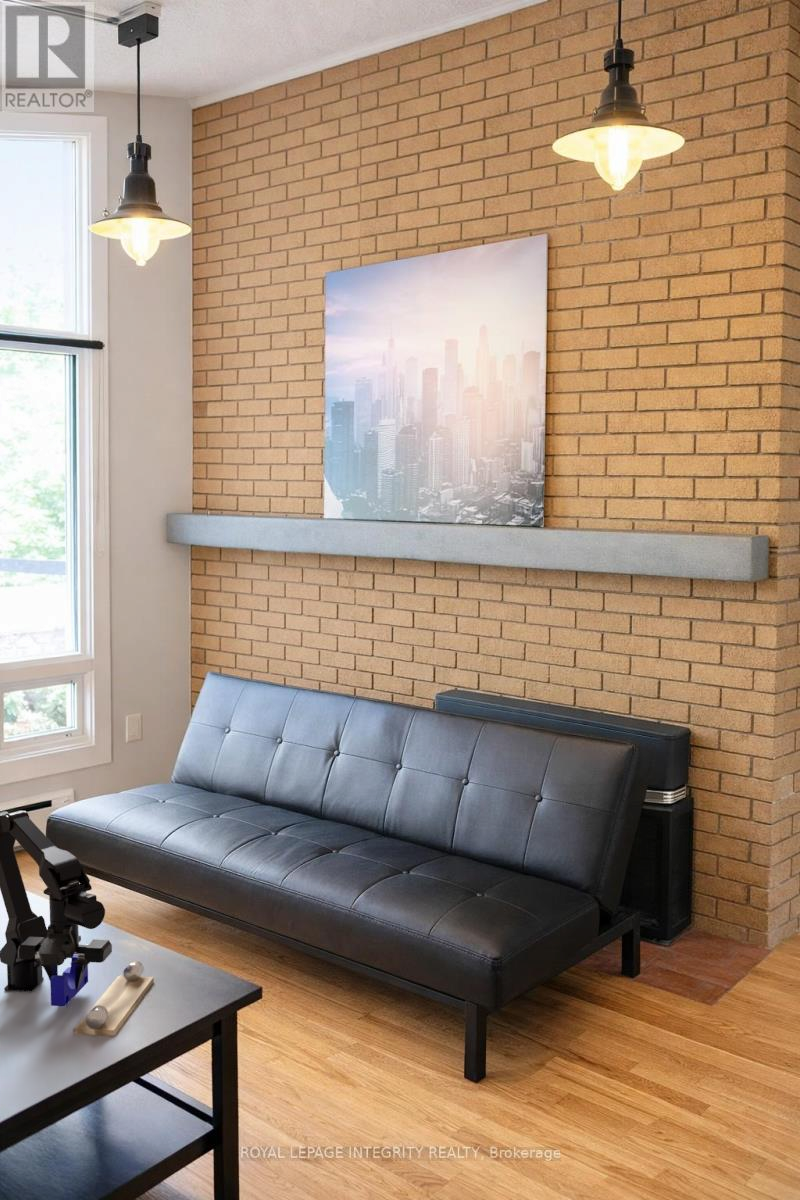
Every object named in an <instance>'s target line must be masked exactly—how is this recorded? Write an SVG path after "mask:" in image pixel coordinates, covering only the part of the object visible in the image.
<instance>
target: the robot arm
mask: <svg viewBox="0 0 800 1200" xmlns="http://www.w3.org/2000/svg"><path fill="white" fill-rule="evenodd" d="M29 815H30V814H29V812H28V811H26V810H22V809H21V810H20V809H19V810H16V811H12V812H8V811H7V810H2V811H0V893H1V897H2V899H3V903H4V906H5V910H6V912H7V917H8V922H7V925H6V929H5V933H4V936H5V940H6V943H5V944H4V945H3V946H2V948H1V949H0V963H2V964H4V965H6V973H7V974H6V976H7V985H6V986H4V988H3V989H4V991H7V992H8V991H9V992H10V991H11V992H12V991H13V992H27V993H28V992H29V993H31V992H33V991H34V990H35V989H37V988H38V986H39V985H40V984H41V983H42V982H43V981H44V976H43V970H44V971H45V973H46V975H47V977H48V979H49V980H50V978H51V977H52V976H53V975H59V974H58V973H59V971H58V968H59V966H61V965H63V964H64V963H65V960H67V959H72V957H73V955H74V954H77V955H78V959H77V960H76V961H75V962H74V966H75V989H78V988H79V986H80V984H81V981H82V978H83V975H84V972H85V970H86V967H87V965H88V966H89V964H90V963H97V964H98V963H103V962H105V961H106V959H107V958H108V957H109V956H110V955H111V954H112V952H113V945H112V943H111V942H110V939H92V940H91V942H90V943H88V944H87V943H86V944H80V942H82V941H81V940H82V935H80V934H79V926H80V927H82V928H86V929H89V930H95V929H97V927H99V926H100V925H101V924H102V922H103V921H104V919H105V915H106V908H105V907H104V906H105V905H103V903H102V902H101V901H99V900H98V899H97V895H96V894H93V893H88V891H92V889H93V888H92V885H91V883H90V882H91V880H90V878H89V877H88V875H87V873H86V871H85V869H84V867H83V865H82V863H81V861H80V860H79V858H77V857H76V856H75V855H73V853H71V852H69V851H68V850H64V849H61V848H58V847H57V846H56V845H55V844H54V843H53V842H52V841H51V840H50V839H49V837H47V836H46V834H45V833H44V832H43V831H41V830H40V828H39V827H38V826H37V825H36V824H35V823H34V822H33V821H32V819H30V816H29ZM16 841H17V843H18V844H19V845H20V846H21V847H22V849H24V851H25V852H26V853H27V854H28V855H29V856H30V857H31V858H32V859H33V861H34V862H35V863H36V864H37V866H38V876H39V877H40V878H41V881H43V883H44V885H45V886H46V887H45V889H43V894H44V895H46V896H48V897H49V902H48V903H49V925H48V926H46V921H45V918H44V916H42V915H39V916H38V915H37V914H36V913H35V912H33V911H32V907H31V904H30V902H29V898H28V894H27V891H26V888H25V884H24V881H23V875H22V873H21V870H20V867H19V863H18V860H17V856H16V853H15V849H14V848H15V844H16ZM76 883H78V884H76ZM74 884H75V885H74ZM71 885H73V886H71ZM67 886H68V887H67Z"/></svg>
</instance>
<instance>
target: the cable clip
mask: <svg viewBox="0 0 800 1200" xmlns="http://www.w3.org/2000/svg"><path fill="white" fill-rule="evenodd" d="M77 959H78V954H74V955H73V957H72V958H71V961H70V962H71V963H70V967H67V968H66V969H65V970H63V972H62V974H61V975H60V974H58V975H53V976H52V977H51V978H50V979H49V981H50V987H49V988H50V1005H51V1007H52V1006H53V1007H66V1006H67V1005H68V1004H69V1003H70V1002H71V1000H73V998H74V997H75V996H76V995H77V994H78V993H79V992H80V991H81V990H82V989H83V988H84V987H85V986H86V985H87V984H88V983H89V964H88V965H87V967H86V970H85V972H84V975H83V978H82V981H81V984H80V986H79V988H78V989H75V966H74V962H75V961H76V960H77Z"/></svg>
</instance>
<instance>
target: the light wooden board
mask: <svg viewBox="0 0 800 1200" xmlns="http://www.w3.org/2000/svg"><path fill="white" fill-rule="evenodd" d="M154 981H155V979H154V976H145V975H143V976H140V977H139V978H138V979H137V980H136V981H135V982H129V981H127V980H126V979H125V978H124V975H118V976H117V977H116V978H115V979H114V981H113V982H112V983H111V984H110V985H109V987H108V988H107V989H106V990H105V991H104V993H102V995H101V997H100V998H99V999H98V1000H97V1002H95V1004H94V1005H93V1006H92V1007H91V1009H90V1010H89V1011H88V1012H87V1013H86V1015H85V1016H84V1017H83V1018H82V1019H81V1021H80V1022H79V1023H78V1025H77V1026H76V1027H75V1028H74V1029H75V1035H87V1036H88V1035H89V1036H90V1035H91V1036H105V1037H107V1036H108V1037H109V1036H110V1037H113V1036H115V1035H116V1034H117V1032H118V1031H119V1030H120V1028H121V1027H122V1026H123V1024H124V1023H125V1022H126V1020H127V1019H128V1018H129V1016H130V1015H131V1013H132V1012H133V1011H134V1009H135V1008H136V1006H137V1005H138V1004H139V1003H140V1001H141V1000H142V998H143V997H144V996H145V994H146V993H147V992H148V991H149V989H150V988H151V986H152V985H153V983H154ZM97 1005H101V1006H104V1007H105V1008H106V1009H107V1011H108V1018H107V1020H106V1021H105V1022H104V1023H103V1025H102V1026H101V1027H100V1028H98V1029H91V1028H90V1027H88V1025H87V1024H86V1016H87V1015H88V1014H89V1012H90V1011H91V1010H92V1009H93V1008H94V1007H95V1006H97Z"/></svg>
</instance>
